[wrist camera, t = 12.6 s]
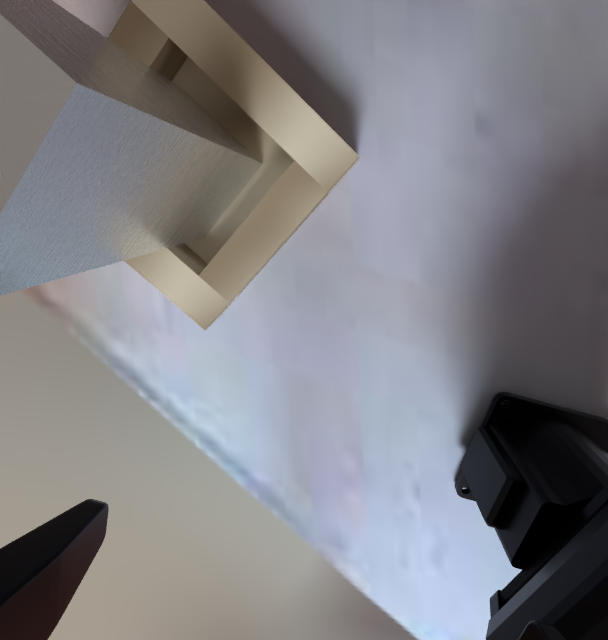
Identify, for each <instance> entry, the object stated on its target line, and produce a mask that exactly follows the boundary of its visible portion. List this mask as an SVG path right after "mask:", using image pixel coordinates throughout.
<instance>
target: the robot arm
mask: <svg viewBox="0 0 608 640" xmlns="http://www.w3.org/2000/svg"><path fill="white" fill-rule="evenodd" d="M505 400H508V403H507V404H506V405H501V403H502V402H503V401H505ZM607 432H608V420H607V419H604V418H600V417H596V416H592V415H589V414H585V413H581V412H578V411H574V410H570V409H566V408H563V407H559V406H555V405H551V404H548V403H544V402H540V401H536V400H533V399H529V398H525V397H522V396H518V395H514V394H510V393H506V392H502V393H499V394H497V395H496V396H495V397H494V398H493V401H492V403H491V405H490V407H489V410H488V412H487V414H486V416H485V418H484V421H483V423H482V425H481V426H480V427H478V428H477V429H476V431H475V433H474V436H473V438H472V440H471V442H470V445H469V447H468V449H467V451H466V453H465V456H464V458H463V460H462V462H461V465H460V466H461V471H460V474H459V476H458V478H457V480H456V482H455V489H456V492H457V494H458V495H459V496H460V497H462V498H466V499H469V500H473V501H476V502H477V505H478V507H479V509H480V511H481V514H482V516H483V518H484V520H485V522H486V524H487V525H488V526H489V527H493V528H495V530H496V532H497V535H498V537H499V539H500V541H501V543H502V545H503V548H504V550H505V552H506V554H507V556H508V558H509V561H510V563H511V565H512V566H513V567H515V568H518V569H522V571H521V572H520V573H519V574H518V575H517V576H516V577H515V578H514V579H513V580H512V581H511V582H510V583H509V584H508V585H507V586H506V587H505V588H504V589H503V590H502V591H501V590H498V591H497V592H496V593H495V594H494V595H493V596H492V597H491V598H490V612H491V619H490V620H489V624H488V630H487V635H486V640H608V433H607ZM463 487H468V488H467V489H462V488H463ZM107 518H108V504H107V503H105V502H101V501H98V500H94V499H88V500H85V501H84V502H81V503H80V504H78V505H76V506H74V507H73V508H71V509H69V510H67V511H66V512H64V513H62V514H60V515H59V516H57V517H55V518H53V519H52V520H50V521H48V522H46V523H45V524H43V525H41V526H39V527H37V528H36V529H34V530H32V531H30V532H29V533H27V534H25V535H23V536H22V537H20V538H18V539H16V540H15V541H13V542H11V543H9V544H8V545H6V546H4V547H2V548H1V549H0V640H47V639H48V638H49V636H50V635H51V633H52V632H53V630H54V629H55V627H56V626H57V624H58V622H59V620H60V619H61V617H62V615H63V613H64V612H65V610H66V608H67V606H68V604H69V603H70V601H71V599H72V597H73V595H74V594H75V592H76V590H77V588H78V586H79V585H80V583H81V581H82V579H83V577H84V575H85V574H86V572H87V570H88V568H89V566H90V565H91V563H92V561H93V559H94V557H95V556H96V554H97V552H98V550H99V548H100V547H101V545H102V543H103V540H104V538H105V534H106V527H107Z"/></svg>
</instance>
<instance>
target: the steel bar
mask: <svg viewBox="0 0 608 640" xmlns="http://www.w3.org/2000/svg"><path fill="white" fill-rule="evenodd" d="M261 165H262V163H261V162H260V161H259V160H258V159H257V158H256V157H255V156H254V155H253V154H252V153H251V152H250V151H248V150H247V149H246V148H245V147H244V146H243V145H242V144H241V143H240V142H239V141H238V140H237V139H236V138H235V137H234V136H233V135H231V134H230V133H229V132H228V131H227V130H226V129H225V128H224V127H223V126H222V125H221V124H220V123H219V122H218V121H217V120H215V119H214V118H213V117H212V116H211V115H210V114H209V113H208V112H207V111H206V110H205V109H204V108H203V107H202V106H201V105H200V104H198V103H197V102H196V101H195V100H194V99H193V98H192V97H191V96H190V95H189V94H188V93H187V92H185V91H184V90H183V89H181V88H180V87H178V86H177V85H175V84H174V83H172V82H171V81H169V80H168V79H166V78H165V77H164V76H162V75H161V74H159V73H158V72H156V71H155V70H153V69H152V68H150V67H149V66H147V65H146V64H144V63H143V62H142V61H140V60H139V59H137V58H136V57H134V56H133V55H131V54H130V53H128V52H127V51H125V50H124V49H122V48H121V47H120V46H118V45H117V44H115V43H114V42H112V41H111V40H109V39H108V38H106V37H105V36H103V35H102V34H101V33H99V32H98V31H96V30H95V29H93V28H92V27H90V26H89V25H87V24H86V23H84V22H83V21H81V20H80V19H79V18H77V17H76V16H74V15H73V14H71V13H70V12H68V11H67V10H65V9H64V8H62V7H61V6H59V5H58V4H57V3H55V2H54V1H52V0H0V295H3V294H7V293H11V292H14V291H18V290H21V289H25V288H28V287H32V286H36V285H39V284H43V283H46V282H50V281H53V280H57V279H60V278H64V277H67V276H71V275H74V274H78V273H81V272H85V271H88V270H92V269H95V268H99V267H102V266H106V265H110V264H113V263H117V262H120V261H124V260H127V259H131V258H134V257H138V256H141V255H145V254H148V253H152V252H155V251H159V250H162V249H166V248H169V247H173V246H176V245H180V244H184V243H187V242H191V241H194V240H198V239H201V238H205V236H206V235H207V234H208V232H209V231H210V230H211V229H212V227H213V226H214V225H215V224H216V222H217V221H218V220H219V219H220V217H221V216H222V215H223V213H224V212H225V211H226V210H227V208H228V207H229V206H230V205H231V203H232V202H233V201H234V200H235V198H236V197H237V196H238V195H239V193H240V192H241V191H242V189H243V188H244V187H245V186H246V184H247V183H248V182H249V181H250V179H251V178H252V177H253V176H254V174H255V173H256V172H257V170H258V169H259V168H260V167H261Z"/></svg>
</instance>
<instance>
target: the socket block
mask: <svg viewBox="0 0 608 640" xmlns="http://www.w3.org/2000/svg"><path fill="white" fill-rule="evenodd" d="M108 39H109V40H111V41H112V42H114V43H115V44H117V45H118V46H120V47H121V48H122V49H124V50H125V51H127V52H128V53H130V54H131V55H133V56H134V57H136V58H137V59H139V60H140V61H142V62H143V63H144V64H146V65H147V66H149V67H150V68H152V69H153V70H155V71H156V72H158V73H159V74H161V75H162V76H164V77H165V78H166V79H168V80H169V81H171V82H172V83H174V84H175V85H177V86H178V87H180V88H181V89H183V90H184V91H185V92H187V93H188V94H189V95H190V96H191V97H192V98H193V99H194V100H195V101H196V102H197V103H198V104H200V105H201V106H202V107H203V108H204V109H205V110H206V111H207V112H208V113H209V114H210V115H211V116H212V117H213V118H214V119H215V120H217V121H218V122H219V123H220V124H221V125H222V126H223V127H224V128H225V129H226V130H227V131H228V132H229V133H230V134H231V135H233V136H234V137H235V138H236V139H237V140H238V141H239V142H240V143H241V144H242V145H243V146H244V147H245V148H246V149H247V150H248V151H250V152H251V153H252V154H253V155H254V156H255V157H256V158H257V159H258V160H259V161H260V162H261V163H262V165H261V167H260V168H259V169H258V170H257V172H256V173H255V174H254V176H253V177H252V178H251V179H250V181H249V182H248V183H247V184H246V186H245V187H244V188H243V189H242V191H241V192H240V193H239V195H238V196H237V197H236V198H235V200H234V201H233V202H232V203H231V205H230V206H229V207H228V208H227V210H226V211H225V212H224V213H223V215H222V216H221V217H220V219H219V220H218V221H217V222H216V224H215V225H214V226H213V227H212V229H211V230H210V231H209V232H208V234H207V235H206V236H205V238H201V239H198V240H194V241H191V242H187V243H184V244H180V245H176V246H173V247H169V248H166V249H162V250H159V251H155V252H152V253H148V254H145V255H141V256H138V257H134V258H131V259H127V260H124V261H125V262H126V263H127V264H129V265H130V266H131V267H132V268H133V269H134V270H136V271H137V272H138V273H139V274H140V275H141V276H142V277H144V278H145V279H146V280H147V281H148V282H149V283H151V284H152V285H153V286H154V287H155V288H156V289H158V290H159V291H160V292H161V293H162V294H163V295H165V296H166V297H167V298H168V299H169V300H170V301H172V302H173V303H174V304H175V305H176V306H177V307H178V308H180V309H181V310H182V311H183V312H184V313H185V314H187V315H188V316H189V317H190V318H191V319H192V320H194V321H195V322H196V323H197V324H198V325H199V326H201V327H202V328H203V329H204V330H206V329H207V328H208V327H209V326H210V325H211V324H212V323H213V322H214V321H215V320H216V319H217V318H219V317H220V316H221V315H222V313H223V312H224V311H225V310H226V309H227V308H228V307H229V306H230V304H231V303H232V302H233V301H234V300H235V299H236V298H237V297H238V295H239V294H240V293H241V292H242V291H243V290H244V289H245V288H246V286H247V285H248V284H249V283H250V282H251V281H252V280H253V279H254V277H255V276H256V275H257V274H258V273H259V272H260V271H261V270H262V268H263V267H264V266H265V265H266V264H267V263H268V262H269V261H270V259H271V258H272V257H273V256H274V255H275V254H276V253H277V252H278V250H279V249H280V248H281V247H282V246H283V245H284V244H285V243H286V241H287V240H288V239H289V238H290V237H291V236H292V235H293V234H294V232H295V231H296V230H297V229H298V228H299V227H300V226H301V225H302V223H303V222H304V221H305V220H306V219H307V218H308V217H309V216H310V214H311V213H312V212H313V211H314V210H315V209H316V208H317V207H318V205H319V204H320V203H321V202H322V201H323V200H324V199H325V198H326V196H327V195H328V194H329V193H330V192H331V191H332V190H333V189H334V187H335V186H336V185H337V184H338V183H339V182H340V181H341V180H342V178H343V177H344V176H345V175H346V174H347V173H348V172H349V171H350V169H351V168H352V167H353V166H354V165H355V164H356V163H357V161H358V158H359V156H358V155H357V154H356V153H355V152H354V151H353V149H352V148H351V147H350V146H349V145H348V144H347V143H346V142H345V141H344V140H343V139H342V138H341V137H340V136H339V135H338V134H337V133H336V132H335V131H334V130H333V129H332V128H331V127H330V126H329V125H328V124H327V123H326V122H325V121H324V120H323V119H322V118H321V117H320V116H319V115H318V114H317V113H316V112H315V111H314V110H313V109H312V108H311V107H310V106H309V105H308V104H307V103H306V102H305V101H304V100H303V99H302V98H301V97H300V96H299V95H298V94H297V93H296V92H295V91H294V90H293V89H292V88H291V87H290V86H289V85H288V84H287V83H286V82H285V81H284V80H283V79H282V78H281V77H280V76H279V75H278V74H277V73H276V72H275V71H274V70H273V69H272V68H271V67H270V66H269V65H268V64H267V63H266V62H265V61H264V60H263V59H262V58H261V57H260V56H259V55H258V54H257V53H256V52H255V51H254V50H253V49H252V48H251V47H250V46H249V45H248V44H247V43H246V42H245V41H244V40H243V39H242V38H241V37H240V36H239V35H238V34H237V33H236V32H235V31H234V30H233V29H232V28H231V27H230V26H229V25H228V24H227V23H226V22H225V21H224V20H223V19H222V18H221V17H220V16H219V15H218V14H217V13H216V12H215V11H214V10H213V9H212V8H211V7H210V6H209V5H208V4H207V3H206V2H205V1H204V0H131V1H130V3H129V4H128V6H127V8H126V9H125V11H124V13H123V14H122V16H121V17H120V19H119V21H118V22H117V24H116V26H115V27H114V29H113V31H112V32H111V34H110V36H109V37H108Z"/></svg>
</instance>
